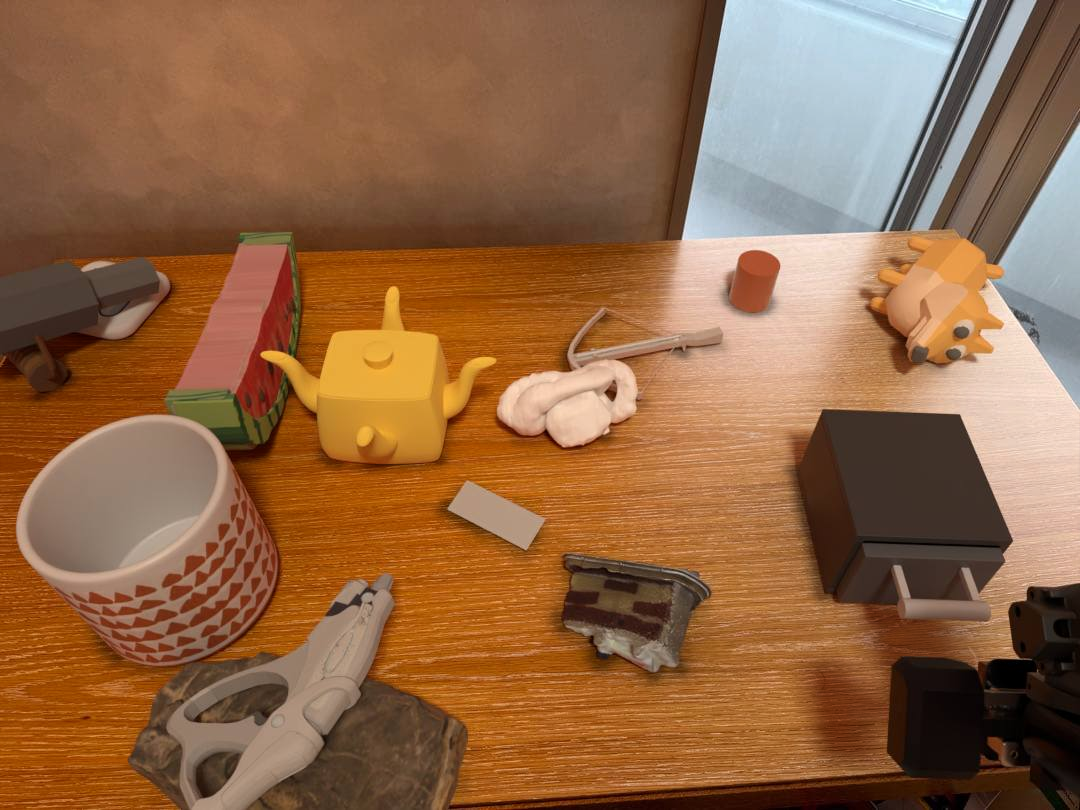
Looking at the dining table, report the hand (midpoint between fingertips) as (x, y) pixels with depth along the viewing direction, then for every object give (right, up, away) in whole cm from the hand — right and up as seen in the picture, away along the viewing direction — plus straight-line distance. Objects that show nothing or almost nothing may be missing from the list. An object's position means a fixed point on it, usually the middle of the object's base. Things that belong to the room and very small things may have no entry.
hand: (983, 668), depth 55 cm
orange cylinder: (-6, +29, +36) cm, 47 cm away
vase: (-56, +3, +10) cm, 57 cm away
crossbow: (-19, +23, +30) cm, 42 cm away
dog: (+7, +31, +34) cm, 47 cm away
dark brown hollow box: (-1, +7, +16) cm, 17 cm away
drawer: (-1, +4, +13) cm, 14 cm away
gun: (-50, +1, +1) cm, 50 cm away
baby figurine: (-28, +22, +23) cm, 42 cm away
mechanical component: (-74, +30, +22) cm, 82 cm away
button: (-73, +32, +35) cm, 87 cm away
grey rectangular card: (-33, +8, +15) cm, 37 cm away
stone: (-45, -7, +2) cm, 46 cm away
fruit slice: (-56, +18, +24) cm, 64 cm away
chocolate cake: (-23, 0, +10) cm, 25 cm away
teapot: (-43, +15, +22) cm, 51 cm away
